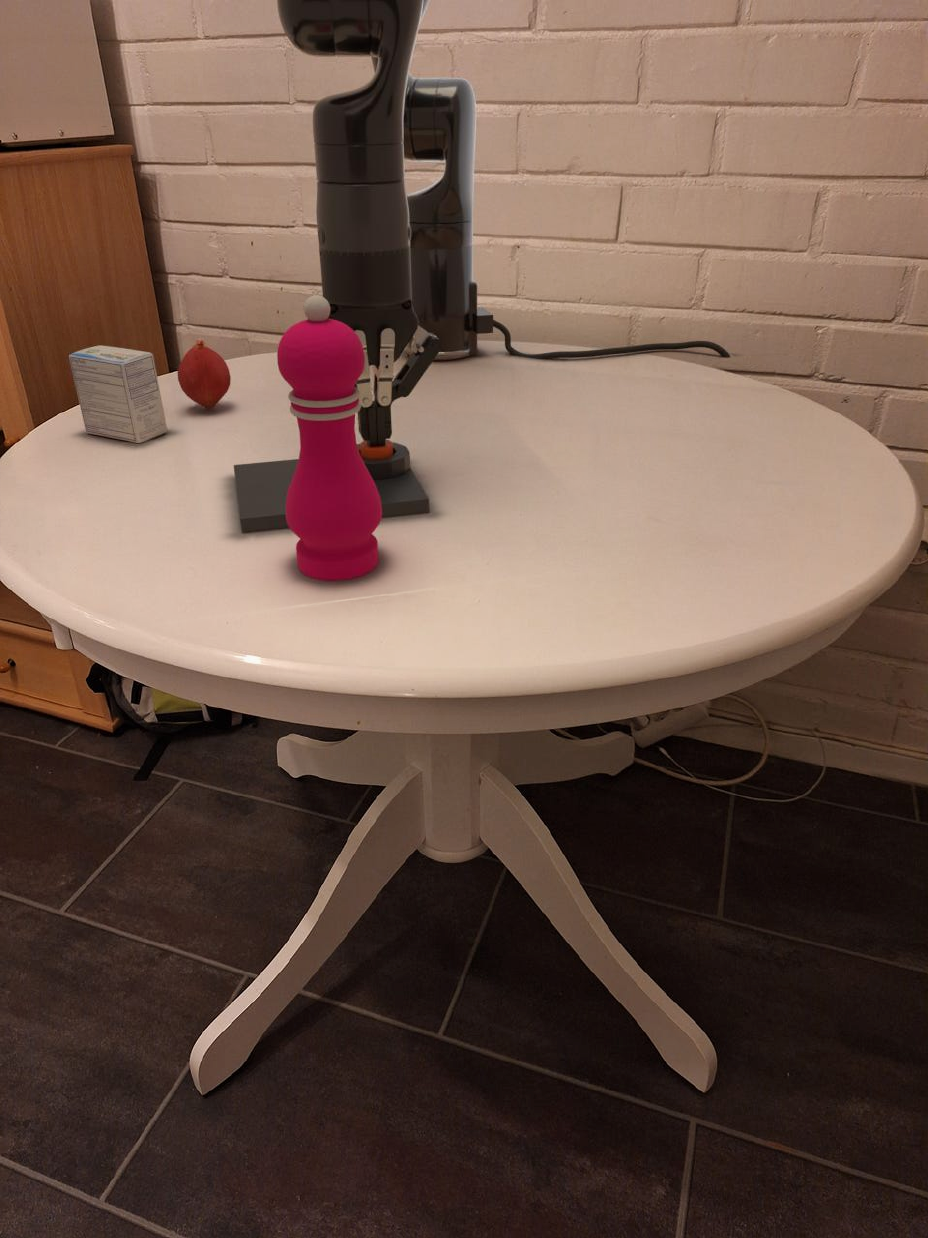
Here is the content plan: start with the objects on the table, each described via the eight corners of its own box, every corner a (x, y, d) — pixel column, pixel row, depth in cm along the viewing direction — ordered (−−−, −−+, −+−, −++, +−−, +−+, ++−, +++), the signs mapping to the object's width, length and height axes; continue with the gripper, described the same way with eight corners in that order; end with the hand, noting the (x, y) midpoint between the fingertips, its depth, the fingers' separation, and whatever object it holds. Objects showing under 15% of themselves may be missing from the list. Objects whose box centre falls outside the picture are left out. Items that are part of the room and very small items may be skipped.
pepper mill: (301, 542, 74) (273, 285, 64) (389, 543, 74) (376, 285, 64) (283, 584, 68) (249, 306, 58) (379, 585, 68) (362, 306, 57)
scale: (400, 462, 90) (399, 433, 88) (429, 513, 79) (428, 481, 77) (235, 478, 86) (231, 448, 85) (242, 534, 75) (237, 500, 74)
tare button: (390, 452, 86) (389, 436, 85) (396, 463, 83) (395, 447, 83) (358, 455, 85) (357, 439, 84) (363, 466, 83) (362, 450, 82)
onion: (172, 412, 105) (160, 341, 101) (206, 398, 109) (196, 330, 105) (211, 419, 102) (200, 347, 98) (244, 405, 107) (235, 335, 103)
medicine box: (169, 433, 98) (155, 351, 94) (138, 445, 95) (122, 361, 90) (116, 422, 101) (100, 343, 97) (84, 434, 98) (66, 352, 94)
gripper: (432, 232, 79) (436, 425, 88) (279, 238, 76) (299, 436, 85) (453, 244, 73) (455, 450, 82) (287, 251, 70) (308, 464, 79)
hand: (375, 443), depth 83 cm, fingers closed
